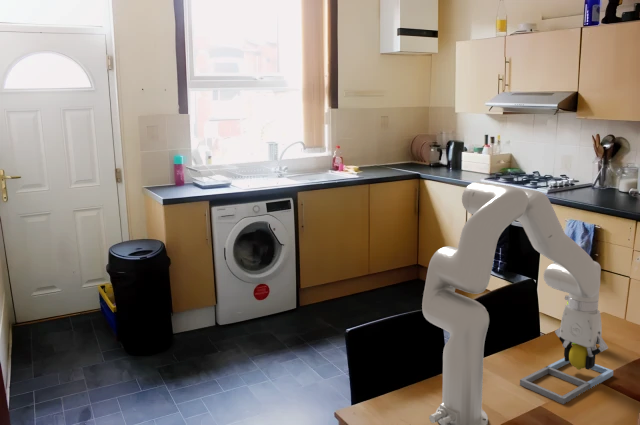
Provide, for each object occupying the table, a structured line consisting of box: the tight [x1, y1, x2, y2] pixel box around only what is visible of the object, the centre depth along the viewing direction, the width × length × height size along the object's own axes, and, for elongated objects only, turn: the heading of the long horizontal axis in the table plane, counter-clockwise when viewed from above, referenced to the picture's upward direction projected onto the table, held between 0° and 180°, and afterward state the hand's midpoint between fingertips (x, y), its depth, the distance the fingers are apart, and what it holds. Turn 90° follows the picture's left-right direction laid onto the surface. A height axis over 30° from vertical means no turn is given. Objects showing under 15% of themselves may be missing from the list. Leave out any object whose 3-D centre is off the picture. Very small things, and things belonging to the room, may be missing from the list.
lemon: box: [569, 344, 588, 371], centre depth 159 cm, size 6×6×8 cm
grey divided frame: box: [519, 357, 614, 405], centre depth 156 cm, size 25×13×2 cm, turn 126°
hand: (578, 363), depth 159 cm, fingers closed on lemon, 5 cm apart
